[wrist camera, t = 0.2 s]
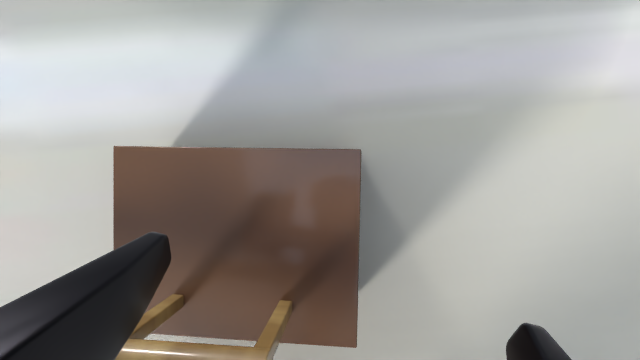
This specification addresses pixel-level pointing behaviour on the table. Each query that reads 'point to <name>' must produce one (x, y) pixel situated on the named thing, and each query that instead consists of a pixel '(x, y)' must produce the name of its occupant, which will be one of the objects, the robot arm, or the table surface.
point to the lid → (243, 246)
